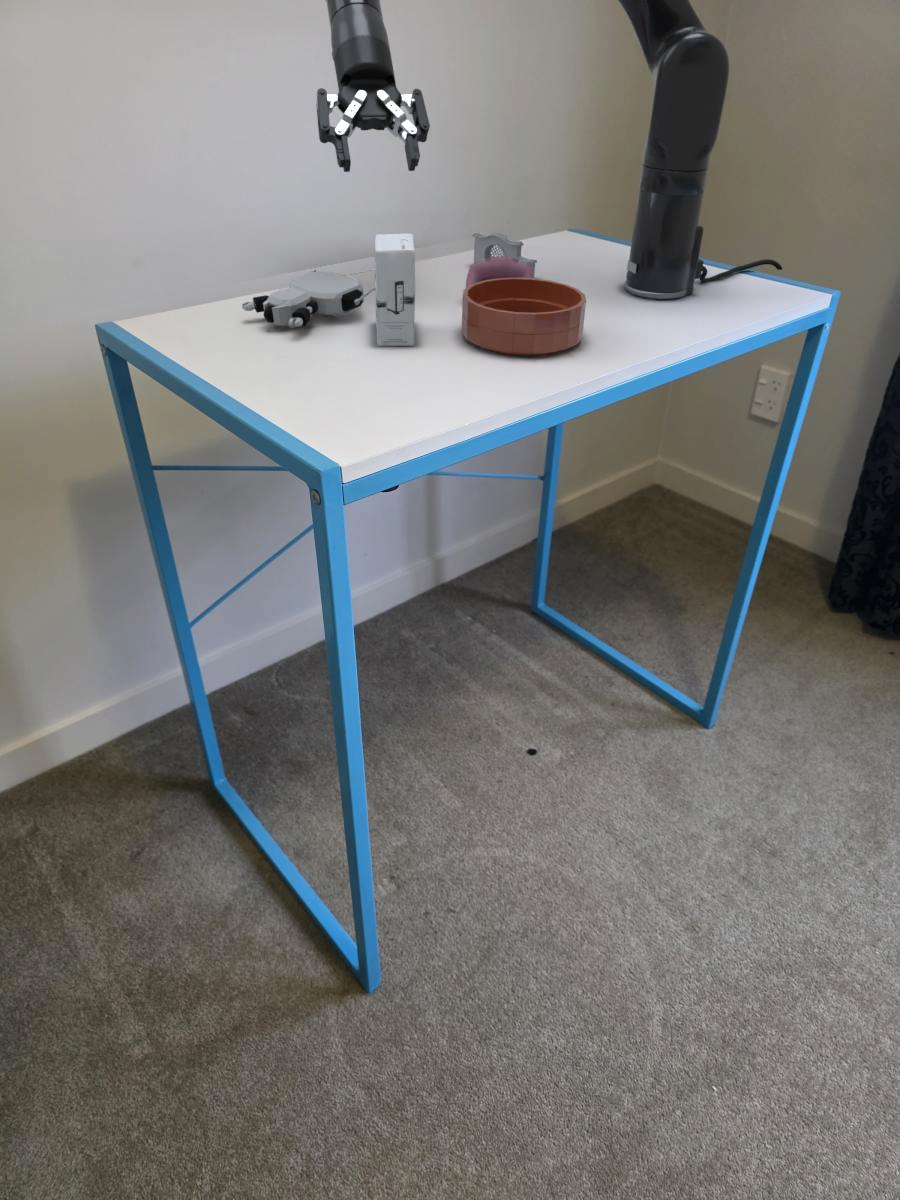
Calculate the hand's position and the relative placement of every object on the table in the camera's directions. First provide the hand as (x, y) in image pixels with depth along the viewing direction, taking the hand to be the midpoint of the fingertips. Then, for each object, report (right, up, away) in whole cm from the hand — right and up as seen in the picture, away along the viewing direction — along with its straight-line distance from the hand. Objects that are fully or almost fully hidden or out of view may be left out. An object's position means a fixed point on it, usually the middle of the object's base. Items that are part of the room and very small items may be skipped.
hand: (380, 167), depth 111 cm
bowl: (+18, -21, +2) cm, 28 cm away
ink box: (+2, -21, +2) cm, 21 cm away
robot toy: (-10, -18, +7) cm, 21 cm away
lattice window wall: (+17, -3, +27) cm, 32 cm away
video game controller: (+16, -12, +15) cm, 25 cm away
